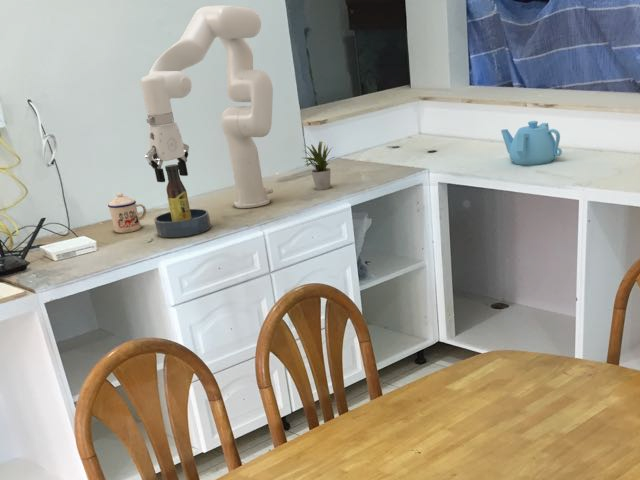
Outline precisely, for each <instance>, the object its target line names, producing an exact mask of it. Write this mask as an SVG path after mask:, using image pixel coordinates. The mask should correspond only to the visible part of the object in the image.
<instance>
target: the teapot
mask: <svg viewBox="0 0 640 480" xmlns="http://www.w3.org/2000/svg"><path fill="white" fill-rule="evenodd" d="M538 123H539V122H538V120H530V121H528V122H527V125H528V126H527V125H526V126H522V127H519V128H518V129H517V131H516V133H515V135H514V137H513V136H512V134H511V133H510V131H509V129H500V130H501V131H500V132H501V135H502V139H503V141H504V145H505V149H506V150H507V153H508V155H509V159H510V160H511V161H512V162H513V163H514V164H515V165H519V166H521V165H522V166H535V165H543V164H548V163H551V162H553V161H554V159H555V158H557V157H560V156H562V153H563V150H562V148H560V147H559V144H560V141H561V133H560V132H559V130H557V129H555V128H550V127H549V122H542V123H541V124H539V125H538ZM552 133H554V134H555V137H554V135H553V134H552Z"/></svg>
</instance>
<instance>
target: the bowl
mask: <svg viewBox="0 0 640 480" xmlns="http://www.w3.org/2000/svg"><path fill="white" fill-rule="evenodd" d="M190 212H191V218H192V219H190V220H185V221H178V222H172V217H171V212H170V211H168V212H165V213H161V214H159V215H157V216H155V217H154V219H153V222H154V225H155V229H156V234H157V236H158V237H162V238H182V237H190V236H194V235H198V234H201V233H204V232H206V231H208V230H210V229H211V227H212V224H211V220H210V213H209V211H208V210H207V209H203V208H190Z"/></svg>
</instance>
